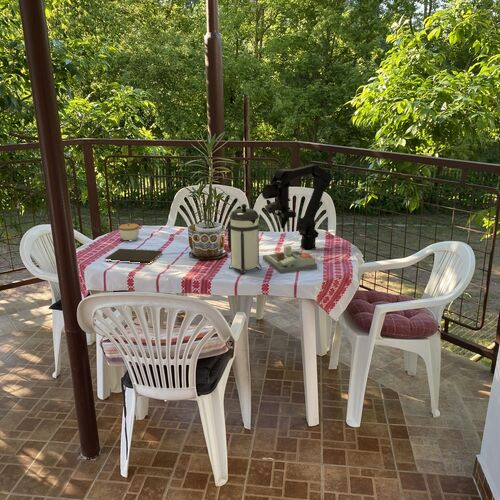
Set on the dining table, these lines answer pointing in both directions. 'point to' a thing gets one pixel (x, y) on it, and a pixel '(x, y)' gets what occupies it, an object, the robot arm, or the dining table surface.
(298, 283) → the dining table surface
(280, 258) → the walnut knob
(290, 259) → the green rocker
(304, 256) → the red button
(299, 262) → the panel
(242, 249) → the coffee press
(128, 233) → the lidded jar
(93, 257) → the dining table surface
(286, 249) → the offwhite knob
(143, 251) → the hardcover book
